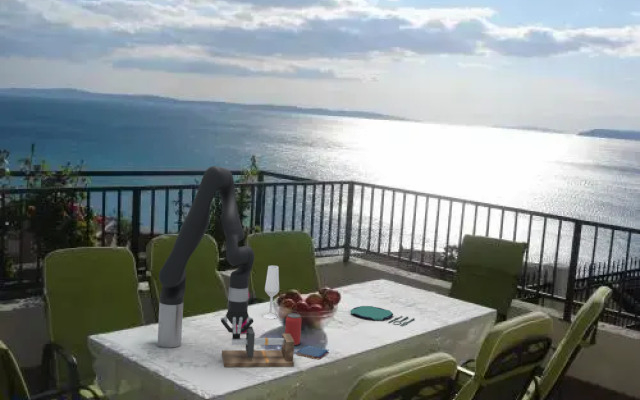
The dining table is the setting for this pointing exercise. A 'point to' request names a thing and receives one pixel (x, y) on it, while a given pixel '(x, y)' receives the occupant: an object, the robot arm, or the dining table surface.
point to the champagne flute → (272, 287)
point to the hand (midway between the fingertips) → (235, 342)
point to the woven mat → (312, 352)
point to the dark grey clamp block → (250, 341)
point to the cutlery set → (376, 314)
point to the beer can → (294, 327)
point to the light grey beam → (259, 341)
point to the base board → (262, 356)
